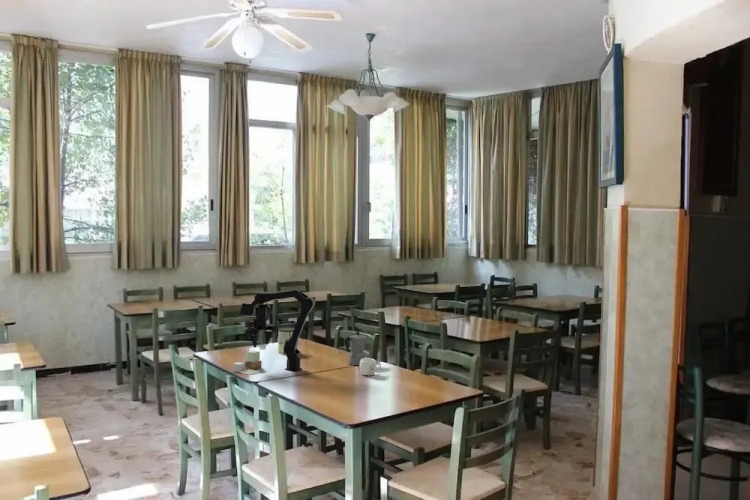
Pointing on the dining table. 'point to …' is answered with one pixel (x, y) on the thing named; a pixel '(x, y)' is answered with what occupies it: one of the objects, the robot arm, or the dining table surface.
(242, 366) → the grey block
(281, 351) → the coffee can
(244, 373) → the swatch tile
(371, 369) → the mug
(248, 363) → the walnut block
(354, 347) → the coffeepot
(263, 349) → the dining table surface
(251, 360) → the sage block
